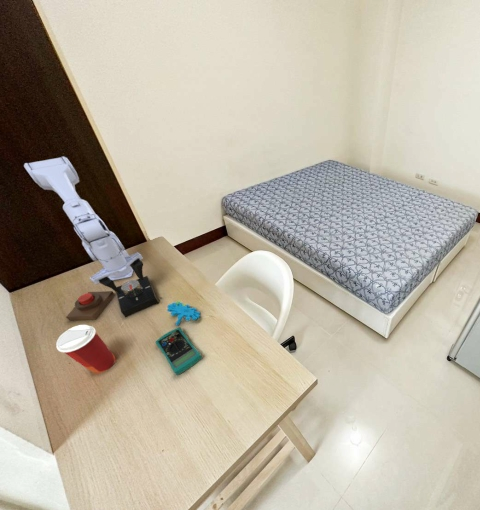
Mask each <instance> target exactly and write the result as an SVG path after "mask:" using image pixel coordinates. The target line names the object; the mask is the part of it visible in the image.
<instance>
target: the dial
mask: <svg viewBox="0 0 480 510" xmlns="http://www.w3.org/2000/svg"><path fill="white" fill-rule="evenodd" d="M121 290H122V291H123V292H124V294H125V295H126V296H127V297H128V298H133V297H136V296H139V295H140V294H141V293H142V292H143V287H142V286H141V284H140V283H139V281H137V279H132V280H128V281H125V282H124V283H123V284H122V287H121Z"/></svg>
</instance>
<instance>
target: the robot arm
mask: <svg viewBox="0 0 480 510" xmlns="http://www.w3.org/2000/svg"><path fill="white" fill-rule="evenodd" d="M23 167H24V169H25V170H26V172H27V173H28V174H29V176H30V177H31V178H32V180H33V181H34V182H35V183H36V184H37V185H38V186H39V187H40V188H42V189H43V190H45V191H46V190H47V191H53V192H55V193H56V194H57V195H58V196H59V197H60V199H62V202H64V204H63V205H62V210H63V211H64V213H65V214H66V216H67V217H68V219H69V220H70V222H71V223H72V225H73V230H74V232H75V233H76V234H77V236H78V237H79V238H80V240H81V245H82V246H83V248H84V250H85V251H86V253H87V254H88V256H89V258H90V259H91V260H92V261H94V262H98V263H100V264H101V266H102V268H101V269H100V270H99V271H97V272H96V273H95V274H93V275H91V276H90V277H89V280H90V282H92V283H93V284H94V285H99V284H101V285H102V286H105V287H107V288H109V289H111V290H113V291H114V292H115V294H117V293H118V294H120V293H121V292H120V290H119V289H118V288H117V287H118V286H117V285H116V284H115V281H118V280H123V279H128V278H131V277H132V275H133V273H134V274H135V275H136V277H137V279H141V280H143V279H144V278H143V277H144V274H143V273H144V272H143V270H144V269H143V268H144V262H143V259H144V257H143V256H142V254H141V253H140V252H135V253H132V254H130V255H129V252H128V251H127V250H126V249H125V246H124V245H123V244H122V242H121V241H120V239H119V237H118V235H116V234H115V233H114V232H113V231H111V230H109V228H108V226H107V225H106V224H105V222H104V221H103V220H102V219H101V218H100V216H99V215H98V214H96V212H95V211H94V209H93V207H92V206H91V205H90V203H89V202H88V201H87V200H85V199H82V198H81V197H80V195H79V194H78V193H77V191H76V186H75V185H77V184H78V183H80V177H79V175H78V173H77V171H76V168H75V167H74V166H73V164H72V162H70V160H69V159H68V157H66V156H61V157H56V158H50V159H45V160H39V161H38V160H37V161H33V162H25V163H24V164H23Z"/></svg>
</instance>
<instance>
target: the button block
mask: <svg viewBox="0 0 480 510" xmlns="http://www.w3.org/2000/svg"><path fill="white" fill-rule="evenodd" d="M113 291H114V290H113ZM113 291H112V290H105V291H104V290H103V291H88V292H87V293H90V294H92V296H93V297H94V300H93V301H92V302H90V303H88V304H85V305H82V304H81V303H80V302H79V301H78V299H76V301H75V302H74V307H73V308H72V310H71V311H70V312H69V313H68V314H67V315H66V316H65V318H66V319H67V320H68V321H69V322H83V321H85V322H86V321H97V319H98V318H99V317H100V316H101V314H102V313H103V311H105V309H107V307H108V305H110V303H111V301H112V300H113V299H114V298H115V297H116V293H114V292H113Z"/></svg>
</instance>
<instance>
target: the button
mask: <svg viewBox="0 0 480 510" xmlns="http://www.w3.org/2000/svg"><path fill="white" fill-rule="evenodd" d="M77 300H78V301H79V302H80V303H81V304H82V305H85V304H88V303H90V302H92V301H93V300H94V297H93V296H92V294H90V293H88V292H87V293H83V294H81V295H80V296H79V297H78V298H77Z"/></svg>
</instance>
